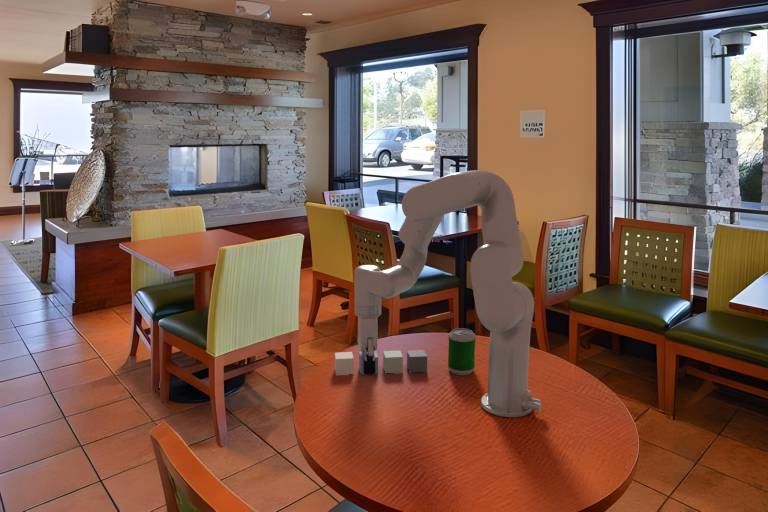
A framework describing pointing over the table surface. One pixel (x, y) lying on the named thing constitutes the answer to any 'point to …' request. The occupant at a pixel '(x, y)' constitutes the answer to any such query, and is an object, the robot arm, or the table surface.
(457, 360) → the soda can
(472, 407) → the table surface
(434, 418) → the table surface
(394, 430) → the table surface
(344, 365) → the cream block
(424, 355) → the charcoal block
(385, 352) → the sage block
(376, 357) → the slate block
